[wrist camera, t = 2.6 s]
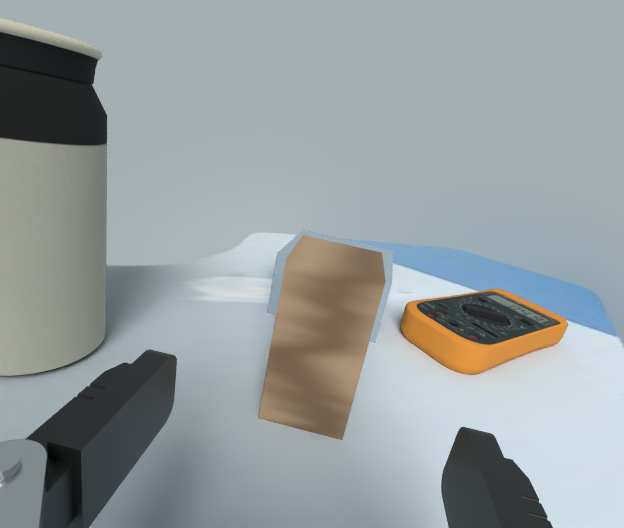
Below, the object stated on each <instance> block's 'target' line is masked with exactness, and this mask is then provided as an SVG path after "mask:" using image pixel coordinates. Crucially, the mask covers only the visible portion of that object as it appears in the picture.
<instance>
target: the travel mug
mask: <svg viewBox="0 0 624 528" xmlns="http://www.w3.org/2000/svg"><path fill="white" fill-rule="evenodd" d="M101 58H102V53H101V51H100V50H99V49H98V48H96V47H94V46H91V45H89V44H87V43H84V42H81V41H78V40H76V39H73V38H69V37H66V36H63V35H60V34H56V33H53V32H50V31H46V30H43V29H39V28H35V27H32V26H29V25H25V24H21V23H17V22H14V21H10V20H6V19H2V18H0V376H11V375H25V374H33V373H38V372H43V371H48V370H52V369H55V368H59V367H62V366H65V365H68V364H70V363H73V362H75V361H77V360H79V359H81V358H83V357H85V356H86V355H88V354H90V353H91V352H92V351H94V350H95V349H96V348H97V347H98V346H99V345H100V344H101V343H102V341H103V339H104V337H105V334H106V201H107V185H106V184H107V115H106V112H105V110H104V109H103V107H102V104H101V102H100V100H99V98H98V96H97V94H96V92H95V90H94V88H93V86H92V84H93V82H94V75H95V68H96V65H97V62H98V60H100V59H101Z"/></svg>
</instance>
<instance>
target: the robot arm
mask: <svg viewBox="0 0 624 528" xmlns="http://www.w3.org/2000/svg"><path fill="white" fill-rule="evenodd" d="M176 365H177V359H176V356H174V355H171V354H167V353H162V352H158V351H154V350H150V349H149V350H147V351H145V352H144V353H143V354H142V355H141V356H140V357H139V358H138V359H136V360H135V361H134V362H133V363H132V364H128V363H122V364H120V365H118V366H116V367H113V368H111V369H109V370H107V371H105V372H104V373H102V374H101V375H100V376H99V377H98V378H97V379H95V380H94V381H93V382H92V383H91V384H90V386H89V387H88V386H87V387H86V388H85V389H84V390H83V391H81V392H80V393H79V394H78V396H77V397H74V398H73V399H72V400H71V401H70V402H68V403H67V404H66V405H65V406H64V407H63V408H61V409H60V410H59V411H58V412H57V413H56V414H54V415H53V416H52V417H51V418H50V419H49V420H47V421H46V422H45V423H44V424H43V425H41V426H40V427H39V428H38V429H37V430H36V431H34V432H33V433H32V434H31V435H30V436H29V437H27V438H26V439H25V440H24V439H21V440H11V441H6V442H2V443H0V528H89V526H90V525H91V524H92V522H93V521H94V519H95V518H96V517H97V515H98V514H99V513H100V511H101V510H102V509H103V507H104V506H105V504H106V503H107V502H108V500H109V499H110V498H111V496H112V495H113V494H114V492H115V491H116V489H117V488H118V487H119V485H120V484H121V483H122V481H123V480H124V479H125V477H126V476H127V474H128V473H129V472H130V470H131V469H132V468H133V466H134V465H135V464H136V462H137V461H138V460H139V458H140V457H141V455H142V454H143V453H144V451H145V450H146V449H147V447H148V446H149V445H150V443H151V442H152V440H153V439H154V438H155V436H156V435H157V434H158V432H159V431H160V430H161V428H162V427H163V425H164V424H165V423H166V421H167V419H168V417H169V415H170V413H171V410H172V407H173V402H174V392H175V379H176ZM441 490H442V498H443V503H444V507H445V512H446V517H447V521H448V526H449V528H553V527H552V525H551V523H550V521H548V520H547V515H546V513H545V511H544V509H543V507H542V505H541V503H539V498H538V496H537V494H536V492H535V490H534V488H533V486H532V484H531V482H530V480H529V478H528V477H527V476H526V475H525V474H524V473H523V472H522V470H521V469H520V468H519V467H518V466H517V465H516V464H515V462H514V461H513V460H511V459H507V458H504V456H503V454H502V452H501V450H500V447H499V445H498V443H497V441H496V438H495V437H494V435H493V434H491V433H486V432H482V431H478V430H474V429H470V428H466V427H461V428H460V429H459V431H458V433H457V436H456V438H455V441H454V444H453V446H452V449H451V452H450V454H449V457H448V459H447V462H446V465H445V467H444V470H443V474H442V483H441Z"/></svg>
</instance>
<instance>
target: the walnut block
mask: <svg viewBox="0 0 624 528" xmlns="http://www.w3.org/2000/svg"><path fill="white" fill-rule="evenodd" d="M385 282H386V279H385V272H384V264H383V256H382V252H377V251H373V250H368V249H364V248H359V247H355V246H350V245H346V244H341V243H337V242H332V241H328V240H323V239H319V238H314V237H310V236H305V235H302V237H301V238H300V240H299V241H298V242H297V244H296V245H295V247H294V248H293V249H292V251H291V252H290V254H289V255H288V257H287V258H286V262H285V268H284V274H283V279H282V285H281V291H280V296H279V302H278V308H277V313H276V319H275V325H274V331H273V336H272V342H271V348H270V353H269V359H268V365H267V371H266V376H265V382H264V388H263V393H262V399H261V405H260V410H259V416H258V418H260V419H264V420H268V421H272V422H275V423H279V424H283V425H287V426H291V427H294V428H298V429H302V430H306V431H310V432H314V433H317V434H321V435H325V436H329V437H333V438H336V439H340V440H342V438H343V435H344V431H345V427H346V424H347V420H348V416H349V413H350V409H351V405H352V402H353V398H354V395H355V391H356V387H357V384H358V380H359V376H360V373H361V369H362V366H363V362H364V358H365V355H366V351H367V347H368V344H369V340H370V336H371V333H372V329H373V326H374V322H375V318H376V315H377V311H378V307H379V304H380V300H381V297H382V293H383V289H384V286H385Z"/></svg>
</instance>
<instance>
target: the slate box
mask: <svg viewBox="0 0 624 528" xmlns="http://www.w3.org/2000/svg"><path fill="white" fill-rule="evenodd" d="M302 235H305V236H310V237H314V238H319V239H323V240H328V241H332V242H337V243H341V244H346V245H350V246H355V247H359V248H364V249H368V250H373V251H377V252H382V256H383V264H384V272H385V279H386V282H385V286H384V289H383V293H382V297H381V300H380V304H379V307H378V311H377V315H376V318H375V322H374V326H373V329H372V333H371V336H370V340H369V341H372V342H375V340H376V337H377V333H378V330H379V326H380V323H381V319H382V315H383V312H384V308H385V305H386V301H387V298H388V294H389V290H390V287H391V283H392V265H393V251H390V250H386V249H382V248H378V247H374V246H370V245H366V244H361V243H357V242H353V241H349V240H345V239H341V238H336V237H332V236H328V235H324V234H320V233H316V232H311V231H307V230H303V231H302V232H301V233H300V234H298V235H297V236H296V237H295V238H294V239H293V240H292V241H290V242H289V243H288V244H287V245H286V246H285V247H284V248H282V249H281V250H280V251H279V252H278V253H277V257H276V263H275V269H274V275H273V281H272V287H271V293H270V299H269V305H268V311H267V312H268V313H271V314H275V315H276V313H277V308H278V302H279V296H280V291H281V285H282V279H283V274H284V268H285V262H286V258H287V257H288V255H289V254H290V252H291V251H292V249H293V248H294V247H295V245H296V244H297V242H298V241H299V240H300V238H301V237H302Z"/></svg>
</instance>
